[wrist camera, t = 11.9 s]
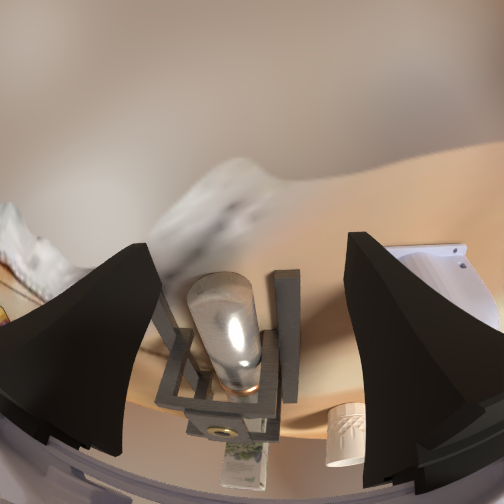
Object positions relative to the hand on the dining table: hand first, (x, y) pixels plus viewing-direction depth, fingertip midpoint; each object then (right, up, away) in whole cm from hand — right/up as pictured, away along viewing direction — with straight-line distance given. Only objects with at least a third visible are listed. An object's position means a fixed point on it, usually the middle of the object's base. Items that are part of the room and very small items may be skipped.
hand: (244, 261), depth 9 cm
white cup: (+16, -26, +28) cm, 42 cm away
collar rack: (-2, -11, +20) cm, 23 cm away
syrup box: (0, -26, +30) cm, 40 cm away
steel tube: (-1, -11, +16) cm, 20 cm away
